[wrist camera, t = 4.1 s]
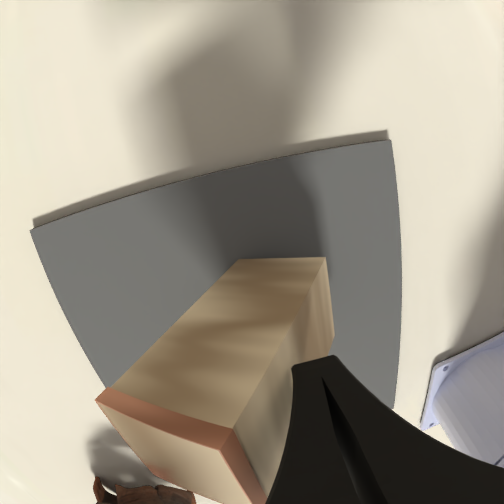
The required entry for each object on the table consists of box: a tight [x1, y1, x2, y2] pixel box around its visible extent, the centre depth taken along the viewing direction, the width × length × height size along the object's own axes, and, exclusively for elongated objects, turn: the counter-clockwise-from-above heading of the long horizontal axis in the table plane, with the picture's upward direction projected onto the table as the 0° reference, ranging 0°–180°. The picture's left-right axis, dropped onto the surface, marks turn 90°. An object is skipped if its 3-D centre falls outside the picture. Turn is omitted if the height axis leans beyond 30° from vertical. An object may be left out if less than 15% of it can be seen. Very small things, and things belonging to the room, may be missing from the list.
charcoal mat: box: [30, 140, 402, 409], centre depth 17 cm, size 18×18×1 cm
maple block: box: [95, 257, 335, 504], centre depth 11 cm, size 4×4×9 cm
